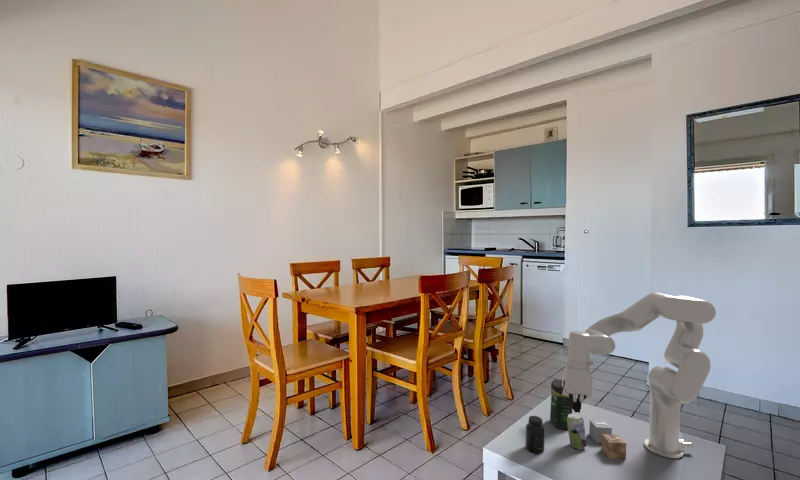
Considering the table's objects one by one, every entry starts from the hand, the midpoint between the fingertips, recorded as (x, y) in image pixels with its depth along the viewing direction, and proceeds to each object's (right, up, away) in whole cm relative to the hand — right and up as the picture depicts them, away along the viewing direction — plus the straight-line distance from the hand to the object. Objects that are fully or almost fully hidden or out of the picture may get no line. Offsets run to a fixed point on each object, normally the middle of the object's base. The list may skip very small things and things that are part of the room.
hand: (576, 410), depth 149 cm
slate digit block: (+13, -14, +7) cm, 20 cm away
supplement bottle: (-17, -14, -3) cm, 22 cm away
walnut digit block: (+12, -14, -4) cm, 19 cm away
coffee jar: (+1, -14, +17) cm, 22 cm away
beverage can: (0, -14, 0) cm, 14 cm away
